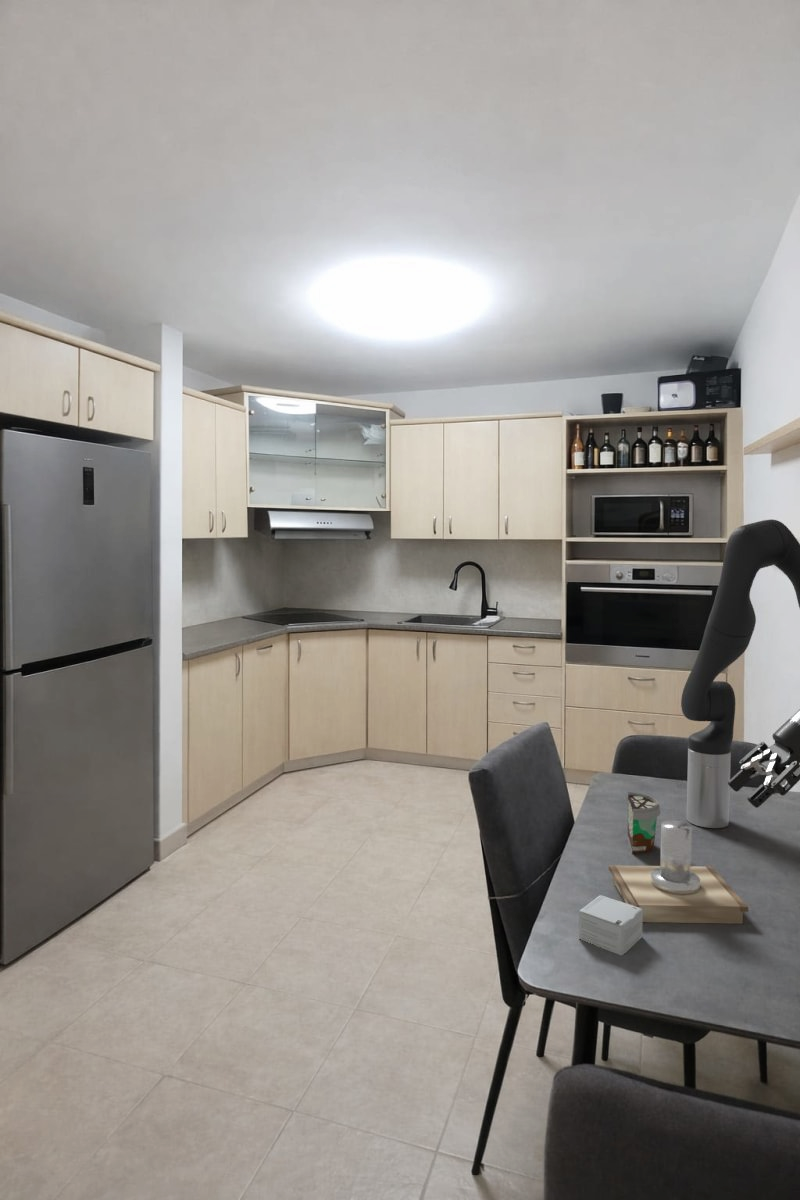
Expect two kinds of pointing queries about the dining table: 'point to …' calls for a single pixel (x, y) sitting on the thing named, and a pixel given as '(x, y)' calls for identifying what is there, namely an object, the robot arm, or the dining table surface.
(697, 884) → the bell jar
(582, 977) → the dining table surface
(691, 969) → the dining table surface
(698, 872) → the stand
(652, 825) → the food container
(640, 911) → the small box
